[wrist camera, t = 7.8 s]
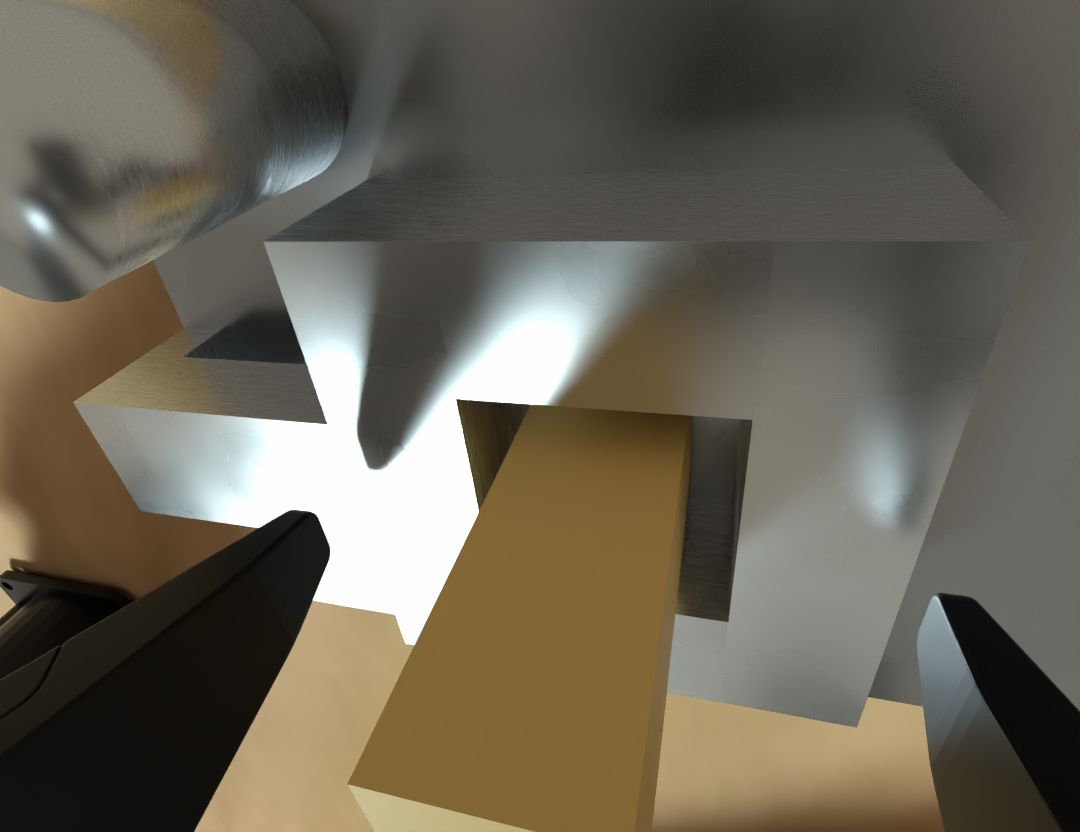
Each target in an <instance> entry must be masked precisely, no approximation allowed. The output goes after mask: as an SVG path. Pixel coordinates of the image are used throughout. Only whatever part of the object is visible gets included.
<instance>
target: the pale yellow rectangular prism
mask: <svg viewBox="0 0 1080 832" xmlns="http://www.w3.org/2000/svg"><path fill="white" fill-rule="evenodd" d="M692 441H693V416H689V415H674V414H660V413H646V412H632V411H618V410H604V409H590V408H576V407H562V406H548V405H534V404H531V405H530V407H529V409H528V411H527V413H526V415H525V417H524V419H523V421H522V423H521V425H520V428H519V430H518V432H517V434H516V436H515V438H514V440H513V442H512V444H511V446H510V448H509V450H508V452H507V455H506V457H505V459H504V461H503V463H502V465H501V467H500V469H499V471H498V473H497V475H496V477H495V479H494V481H493V484H492V486H491V488H490V490H489V492H488V494H487V496H486V498H485V500H484V502H483V504H482V506H481V508H480V511H479V513H478V515H477V517H476V519H475V521H474V523H473V525H472V527H471V529H470V531H469V533H468V535H467V537H466V540H465V542H464V544H463V546H462V548H461V550H460V552H459V554H458V556H457V558H456V560H455V562H454V564H453V567H452V569H451V571H450V573H449V575H448V577H447V579H446V581H445V583H444V585H443V587H442V589H441V591H440V593H439V596H438V598H437V600H436V602H435V604H434V606H433V608H432V610H431V612H430V614H429V616H428V618H427V620H426V622H425V625H424V627H423V629H422V631H421V633H420V635H419V637H418V639H417V641H416V643H415V645H414V647H413V649H412V652H411V654H410V656H409V658H408V660H407V662H406V664H405V666H404V668H403V670H402V672H401V674H400V676H399V678H398V681H397V683H396V685H395V687H394V689H393V691H392V693H391V695H390V697H389V699H388V701H387V703H386V705H385V708H384V710H383V712H382V714H381V716H380V718H379V720H378V722H377V724H376V726H375V728H374V730H373V732H372V734H371V737H370V739H369V741H368V743H367V745H366V747H365V749H364V751H363V753H362V755H361V757H360V759H359V761H358V763H357V766H356V768H355V770H354V772H353V774H352V776H351V778H350V780H349V782H348V786H349V788H350V790H351V791H352V793H353V795H354V797H355V798H356V800H357V802H358V804H359V805H360V807H361V809H362V811H363V812H364V814H365V816H366V818H367V819H368V821H369V823H370V825H371V826H372V828H373V830H374V832H651V831H652V822H653V813H654V804H655V795H656V786H657V777H658V768H659V758H660V749H661V740H662V731H663V722H664V713H665V704H666V695H667V686H668V677H669V668H670V659H671V650H672V641H673V632H674V623H675V613H676V604H677V595H678V586H679V577H680V568H681V559H682V550H683V541H684V532H685V523H686V514H687V505H688V496H689V487H690V478H691V466H692Z"/></svg>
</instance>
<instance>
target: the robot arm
mask: <svg viewBox="0 0 1080 832" xmlns="http://www.w3.org/2000/svg"><path fill="white" fill-rule="evenodd" d="M330 551H331V550H330V544H329V542H328V539H327V537H326V534H325V532H324V529H323V527H322V525H321V522H320V520H319V517H318V516H317V515H316V514H315V513H314V512H311V511H304V510H296V509H294V510H289V511H287V512H285V513H283V514H281V515H280V516H278V517H276V518H275V519H273V520H271V521H270V522H268V523H266V524H265V525H263V526H261V527H259V528H258V529H256V530H254V531H253V532H251V533H249V534H248V535H246V536H244V537H242V538H241V539H239V540H237V541H236V542H234V543H232V544H231V545H229V546H227V547H225V548H224V549H222V550H220V551H219V552H217V553H215V554H214V555H212V556H210V557H209V558H207V559H205V560H203V561H202V562H200V563H198V564H197V565H195V566H193V567H192V568H190V569H188V570H186V571H185V572H183V573H181V574H180V575H178V576H176V577H175V578H173V579H171V580H169V581H168V582H166V583H164V584H163V585H161V586H159V587H158V588H156V589H154V590H153V591H151V592H149V593H147V594H146V595H144V596H142V597H141V598H139V599H137V600H136V601H134V602H131V601H130V599H129V598H128V597H127V596H125V595H124V594H123V593H121V592H119V591H116V590H112V589H106V588H101V587H96V586H90V585H85V584H79V583H74V582H69V581H63V580H58V579H53V578H47V577H42V576H37V575H31V574H26V573H20V572H15V571H10V570H6V571H5V572H4V573H3V574H2V575H0V587H1V588H2V589H3V590H4V591H5V592H6V594H7V595H8V596H9V597H10V598H11V599H12V600H13V601H14V603H15V604H16V605H15V606H14V607H13V608H12V609H11V610H9V611H8V612H7V613H6V614H5V615H4V616H3V617H2V618H0V832H194V831H195V829H196V827H197V825H198V824H199V822H200V820H201V818H202V816H203V814H204V812H205V810H206V809H207V807H208V805H209V803H210V801H211V799H212V797H213V795H214V794H215V792H216V790H217V788H218V786H219V784H220V782H221V781H222V779H223V777H224V775H225V773H226V771H227V769H228V767H229V766H230V764H231V762H232V760H233V758H234V756H235V754H236V752H237V751H238V749H239V747H240V745H241V743H242V741H243V739H244V737H245V736H246V734H247V732H248V730H249V728H250V726H251V724H252V723H253V721H254V719H255V717H256V715H257V713H258V711H259V709H260V708H261V706H262V704H263V702H264V700H265V698H266V696H267V694H268V693H269V691H270V689H271V687H272V685H273V683H274V681H275V680H276V678H277V676H278V674H279V672H280V670H281V668H282V666H283V665H284V663H285V661H286V659H287V657H288V655H289V653H290V651H291V649H292V647H293V645H294V643H295V641H296V639H297V636H298V634H299V632H300V630H301V627H302V625H303V622H304V620H305V618H306V615H307V613H308V610H309V608H310V606H311V603H312V601H313V598H314V596H315V593H316V591H317V589H318V586H319V584H320V581H321V579H322V577H323V574H324V572H325V569H326V567H327V564H328V562H329V559H330ZM917 656H918V664H919V673H920V682H921V691H922V699H923V708H924V717H925V726H926V735H927V743H928V752H929V759H930V766H931V772H932V777H933V782H934V786H935V791H936V795H937V799H938V804H939V808H940V812H941V816H942V821H943V825H944V829H945V832H1080V710H1079V709H1078V708H1077V707H1076V706H1075V705H1074V704H1073V703H1072V702H1071V700H1070V699H1069V698H1068V697H1067V696H1066V695H1065V694H1064V693H1063V692H1062V691H1061V690H1060V689H1059V688H1058V687H1057V686H1056V684H1055V683H1054V682H1053V681H1052V680H1051V679H1050V678H1049V677H1048V676H1047V675H1046V674H1045V673H1044V672H1043V671H1042V670H1041V669H1040V667H1039V666H1038V665H1037V664H1036V663H1035V662H1034V661H1033V660H1032V659H1031V658H1030V657H1029V656H1028V655H1027V654H1026V653H1025V651H1024V650H1023V649H1022V648H1021V647H1020V646H1019V645H1018V644H1017V643H1016V642H1015V641H1014V640H1013V639H1012V638H1011V637H1010V635H1009V634H1008V633H1007V632H1006V631H1005V630H1004V629H1003V628H1002V627H1001V626H1000V625H999V624H998V623H997V622H996V621H995V619H994V618H993V617H992V616H991V615H990V614H989V613H988V612H987V611H986V610H985V609H984V608H983V607H982V606H981V605H980V603H978V602H977V601H976V600H975V599H973V598H971V597H969V596H963V595H955V594H948V593H937V594H935V595H934V596H933V597H932V599H931V601H930V603H929V606H928V608H927V611H926V613H925V616H924V618H923V621H922V623H921V626H920V628H919V631H918V635H917Z"/></svg>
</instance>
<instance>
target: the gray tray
mask: <svg viewBox="0 0 1080 832" xmlns="http://www.w3.org/2000/svg"><path fill="white" fill-rule="evenodd" d="M152 260H153V262H154V265H155V267H156V269H157V271H158V273H159V275H160V278H161V280H162V282H163V284H164V286H165V288H166V290H167V293H168V295H169V297H170V299H171V301H172V303H173V306H174V308H175V310H176V312H177V314H178V316H179V318H180V321H181V323H182V325H183V327H184V329H182V330H181V331H179V332H178V333H176V334H175V335H173V336H172V337H170V338H169V339H167V340H166V341H164V342H163V343H161V344H160V345H158V346H157V347H155V348H154V349H152V350H151V351H149V352H148V353H146V354H145V355H143V356H142V357H140V358H139V359H137V360H136V361H134V362H133V363H131V364H130V365H128V366H127V367H125V368H124V369H122V370H121V371H119V372H118V373H116V374H115V375H113V376H112V377H110V378H109V379H107V380H106V381H104V382H103V383H101V384H100V385H98V386H97V387H95V388H94V389H92V390H91V391H89V392H88V393H86V394H85V395H83V396H82V397H80V398H79V399H77V400H76V401H74V402H73V403H74V405H75V407H76V408H77V410H78V411H79V413H80V415H81V416H82V418H83V419H84V421H85V423H86V424H87V426H88V427H89V429H90V431H91V432H92V434H93V436H94V437H95V439H96V440H97V442H98V444H99V445H100V447H101V448H102V450H103V452H104V453H105V455H106V456H107V458H108V460H109V461H110V463H111V464H112V466H113V468H114V469H115V471H116V472H117V474H118V476H119V477H120V479H121V480H122V482H123V484H124V485H125V487H126V488H127V490H128V492H129V493H130V495H131V497H132V498H133V500H134V501H135V503H136V505H137V506H138V508H139V509H140V511H143V512H150V513H157V514H164V515H171V516H178V517H185V518H192V519H199V520H206V521H213V522H220V523H227V524H235V525H242V526H249V527H256V528H259V527H261V526H263V525H265V524H266V523H268V522H270V521H271V520H273V519H275V518H276V517H278V516H280V515H281V514H283V513H285V512H287V511H289V510H294V509H296V510H304V511H311V512H314V513H315V514H316V515H317V516H318V517H319V520H320V522H321V525H322V527H323V529H324V532H325V534H326V537H327V539H328V542H329V544H330V550H331V551H330V559H329V562H328V564H327V567H326V569H325V572H324V574H323V577H322V579H321V581H320V584H319V586H318V589H317V591H316V593H315V596H314V598H313V601H319V602H325V603H330V604H336V605H342V606H348V607H353V608H359V609H365V610H371V611H376V612H382V613H388V614H394V615H396V618H397V621H398V624H399V627H400V630H401V632H402V635H403V638H404V641H405V643H406V644H411V645H415V643H416V641H417V639H418V637H419V635H420V633H421V631H422V629H423V627H424V625H425V622H426V620H427V618H428V616H429V614H430V612H431V610H432V608H433V606H434V604H435V602H436V600H437V598H438V596H439V593H440V591H441V589H442V587H443V585H444V583H445V581H446V579H447V577H448V575H449V573H450V571H451V569H452V567H453V564H454V562H455V560H456V558H457V556H458V554H459V552H460V550H461V548H462V546H463V544H464V542H465V540H466V537H467V535H468V533H469V531H470V529H471V527H472V525H473V523H474V521H475V519H476V517H477V515H478V513H479V511H480V508H481V506H482V504H483V502H484V500H485V498H486V496H487V494H488V492H489V490H490V488H491V486H492V484H493V481H494V479H495V477H496V475H497V473H498V471H499V469H500V467H501V465H502V463H503V461H504V459H505V457H506V455H507V452H508V450H509V448H510V446H511V444H512V442H513V440H514V438H515V436H516V434H517V432H518V430H519V428H520V425H521V423H522V421H523V419H524V417H525V415H526V413H527V411H528V409H529V407H530V405H531V404H534V405H548V406H562V407H576V408H590V409H604V410H618V411H632V412H646V413H660V414H674V415H689V416H693V441H692V466H691V478H690V487H689V496H688V505H687V514H686V523H685V532H684V541H683V550H682V559H681V568H680V577H679V586H678V595H677V604H676V613H675V623H674V632H673V641H672V650H671V659H670V668H669V677H668V686H667V692H669V693H675V694H680V695H685V696H691V697H696V698H701V699H707V700H712V701H718V702H723V703H728V704H734V705H739V706H744V707H750V708H755V709H761V710H766V711H771V712H777V713H782V714H787V715H793V716H798V717H804V718H809V719H814V720H820V721H825V722H830V723H836V724H841V725H847V726H852V727H857V725H858V723H859V720H860V717H861V714H862V712H863V709H864V706H865V703H866V700H867V698H868V697H872V698H878V699H884V700H889V701H895V702H901V703H907V704H912V705H918V706H923V699H922V691H921V682H920V673H919V664H918V656H917V635H918V631H919V628H920V626H921V623H922V621H923V618H924V616H925V613H926V611H927V608H928V606H929V603H930V601H931V599H932V597H933V596H934V595H935V594H937V593H948V594H955V595H963V596H969V597H971V598H973V599H975V600H976V601H977V602H978V603H980V605H981V606H982V607H983V608H984V609H985V610H986V611H987V612H988V613H989V614H990V615H991V616H992V617H993V618H994V619H995V621H996V622H997V623H998V624H999V625H1000V626H1001V627H1002V628H1003V629H1004V630H1005V631H1006V632H1007V633H1008V634H1009V635H1010V637H1011V638H1012V639H1013V640H1014V641H1015V642H1016V643H1017V644H1018V645H1019V646H1020V647H1021V648H1022V649H1023V650H1024V651H1025V653H1026V654H1027V655H1028V656H1029V657H1030V658H1031V659H1032V660H1033V661H1034V662H1035V663H1036V664H1037V665H1038V666H1039V667H1040V669H1041V670H1042V671H1043V672H1044V673H1045V674H1046V675H1047V676H1048V677H1049V678H1050V679H1051V680H1052V681H1053V682H1054V683H1055V684H1056V686H1057V687H1058V688H1059V689H1060V690H1061V691H1062V692H1063V693H1064V694H1065V695H1066V696H1067V697H1068V698H1069V699H1070V700H1071V702H1072V703H1073V704H1074V705H1075V706H1076V707H1077V708H1078V709H1079V710H1080V0H0V286H2V287H5V288H7V289H9V290H11V291H13V292H16V293H18V294H21V295H24V296H27V297H30V298H34V299H38V300H43V301H52V302H61V301H70V300H74V299H78V298H80V297H82V296H84V295H87V294H89V293H90V292H92V291H94V290H96V289H98V288H100V287H102V286H104V285H106V284H108V283H110V282H112V281H114V280H116V279H118V278H120V277H121V276H123V275H125V274H127V273H129V272H131V271H133V270H135V269H137V268H139V267H141V266H143V265H145V264H147V263H149V262H151V261H152Z"/></svg>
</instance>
